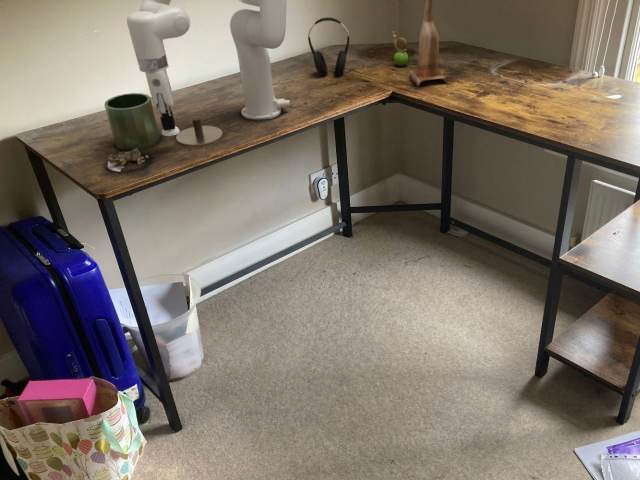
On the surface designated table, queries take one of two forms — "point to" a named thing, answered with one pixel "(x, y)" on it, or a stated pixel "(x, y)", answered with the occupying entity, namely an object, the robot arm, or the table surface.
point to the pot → (132, 120)
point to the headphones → (319, 58)
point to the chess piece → (170, 131)
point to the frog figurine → (124, 159)
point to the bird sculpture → (427, 50)
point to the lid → (199, 134)
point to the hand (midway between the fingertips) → (169, 126)
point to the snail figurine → (400, 51)
